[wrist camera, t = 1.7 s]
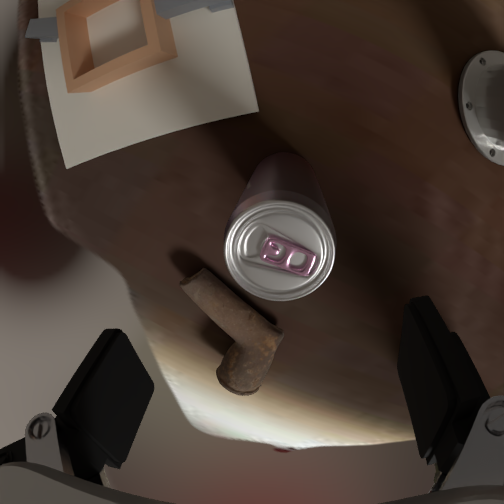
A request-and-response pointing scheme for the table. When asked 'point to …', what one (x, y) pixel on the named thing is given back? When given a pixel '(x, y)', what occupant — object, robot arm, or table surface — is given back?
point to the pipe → (236, 333)
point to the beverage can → (280, 231)
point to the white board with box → (139, 69)
